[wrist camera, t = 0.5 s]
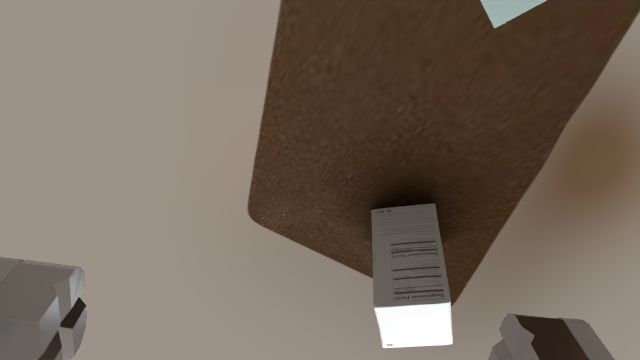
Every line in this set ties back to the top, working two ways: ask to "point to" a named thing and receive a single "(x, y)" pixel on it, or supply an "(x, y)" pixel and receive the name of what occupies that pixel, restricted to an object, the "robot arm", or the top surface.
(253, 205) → the top surface
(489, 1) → the case
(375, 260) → the supplement box
